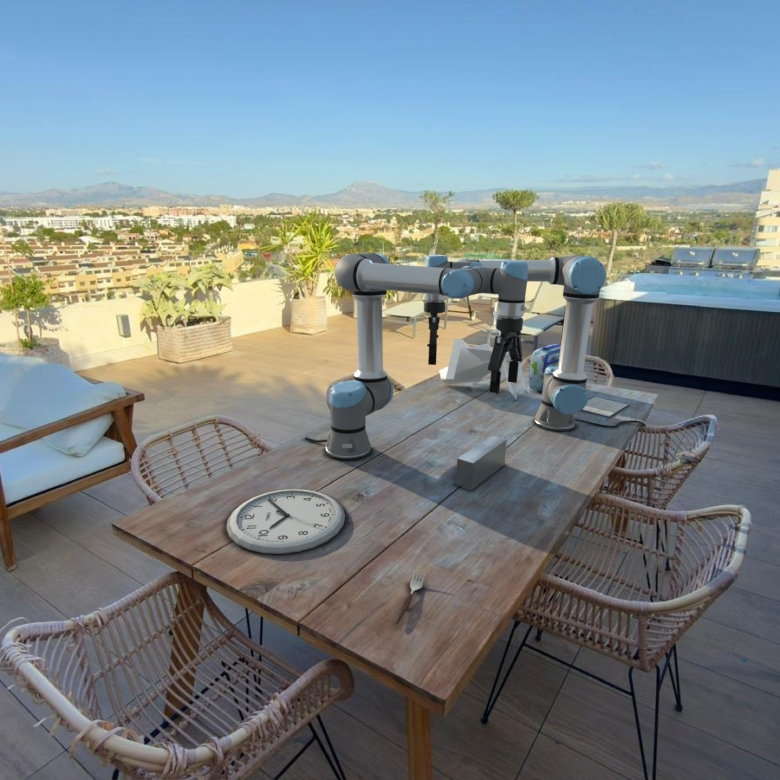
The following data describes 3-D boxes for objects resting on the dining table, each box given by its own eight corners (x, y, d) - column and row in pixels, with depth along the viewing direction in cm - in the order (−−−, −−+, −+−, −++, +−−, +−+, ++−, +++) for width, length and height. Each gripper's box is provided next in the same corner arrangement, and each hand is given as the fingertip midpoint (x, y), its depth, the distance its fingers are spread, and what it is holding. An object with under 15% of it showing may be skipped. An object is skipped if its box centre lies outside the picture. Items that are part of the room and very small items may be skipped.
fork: (390, 624, 100) (390, 615, 100) (415, 574, 115) (415, 567, 114) (403, 627, 99) (403, 619, 99) (426, 577, 114) (426, 569, 113)
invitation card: (608, 416, 214) (573, 407, 224) (608, 416, 214) (573, 408, 224) (628, 404, 229) (594, 396, 238) (628, 405, 229) (594, 397, 238)
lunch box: (545, 396, 239) (550, 351, 232) (524, 391, 246) (528, 347, 240) (572, 385, 256) (577, 343, 250) (552, 380, 263) (557, 339, 257)
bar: (489, 460, 172) (491, 435, 170) (504, 464, 169) (506, 439, 167) (455, 485, 155) (457, 458, 153) (471, 490, 152) (473, 463, 150)
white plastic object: (461, 429, 252) (437, 405, 227) (444, 352, 274) (420, 323, 250) (535, 404, 240) (518, 377, 215) (510, 326, 262) (492, 293, 237)
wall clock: (345, 545, 122) (213, 550, 119) (345, 551, 122) (214, 556, 120) (344, 484, 150) (238, 487, 148) (345, 490, 151) (239, 492, 148)
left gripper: (505, 324, 138) (498, 400, 145) (537, 312, 158) (530, 380, 164) (479, 320, 142) (473, 394, 149) (514, 310, 162) (507, 376, 168)
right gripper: (424, 296, 195) (422, 351, 201) (423, 305, 171) (420, 368, 177) (445, 296, 194) (442, 352, 200) (446, 306, 170) (443, 369, 177)
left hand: (503, 387), depth 156 cm, fingers open, 13 cm apart
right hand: (432, 359), depth 189 cm, fingers open, 13 cm apart
